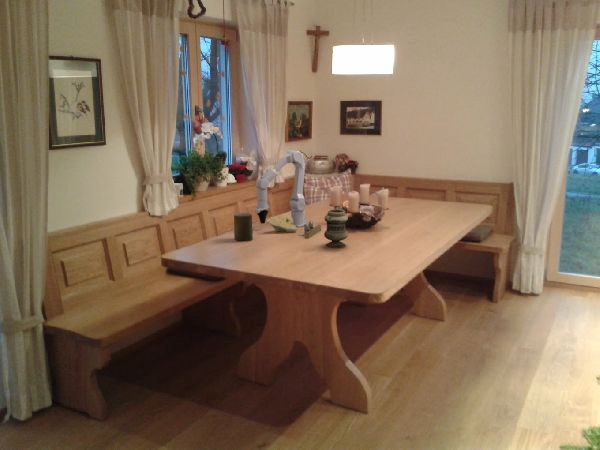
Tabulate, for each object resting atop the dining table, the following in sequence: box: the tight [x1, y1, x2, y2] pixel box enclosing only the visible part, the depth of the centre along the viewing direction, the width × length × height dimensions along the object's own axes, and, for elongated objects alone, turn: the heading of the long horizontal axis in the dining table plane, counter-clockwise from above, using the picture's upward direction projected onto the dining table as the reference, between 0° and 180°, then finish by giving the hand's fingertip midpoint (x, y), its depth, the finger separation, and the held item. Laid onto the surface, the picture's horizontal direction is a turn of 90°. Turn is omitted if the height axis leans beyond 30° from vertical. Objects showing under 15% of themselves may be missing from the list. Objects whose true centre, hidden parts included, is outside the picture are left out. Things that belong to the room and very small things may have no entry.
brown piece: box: [303, 220, 322, 239], centre depth 314 cm, size 20×5×6 cm, turn 158°
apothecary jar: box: [323, 208, 349, 249], centre depth 288 cm, size 12×12×18 cm
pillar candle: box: [233, 212, 254, 243], centre depth 302 cm, size 10×10×15 cm
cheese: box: [266, 214, 298, 233], centre depth 321 cm, size 15×7×15 cm
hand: (262, 223), depth 325 cm, fingers closed
